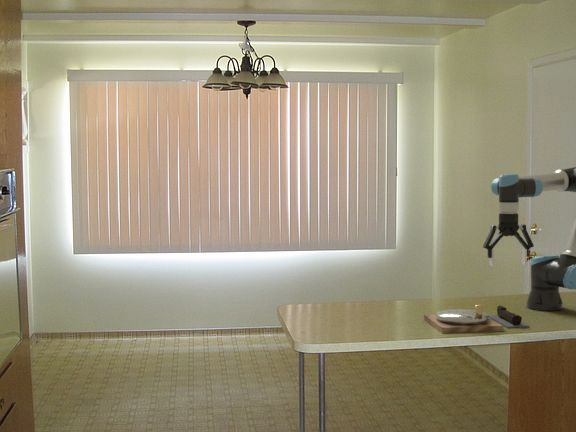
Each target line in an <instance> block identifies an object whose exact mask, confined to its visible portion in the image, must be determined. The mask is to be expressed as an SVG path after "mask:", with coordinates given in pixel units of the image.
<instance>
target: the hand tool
mask: <svg viewBox="0 0 576 432" xmlns="http://www.w3.org/2000/svg"><path fill="white" fill-rule="evenodd" d="M496 311H497V312H496V315H498V316H499V317H500V318H504V319H506V320H508V321H510V322H512V324H513V325H519V324H521V322H522V319H523V317H522V316H521V315H519V314H516V313H514V312H511V311H509V310H507V307H505V306H502V305H498V306H497V307H496Z"/></svg>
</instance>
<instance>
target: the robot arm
mask: <svg viewBox="0 0 576 432" xmlns="http://www.w3.org/2000/svg"><path fill="white" fill-rule="evenodd" d="M490 187H491V188H490V189H491V192H492V194H493V195H495V196H498V212H499V214H498V225H494V224H492V225H490V230H489V233H488V235H487V237H486V238H485V241H484V243H483V245H482V247H483V249H486V250H487V258H488V259H489V266H491V267H495V250H494V248H495V246H497V244H498V243H499V241H500V240H501V239H502V238H503V237H513V236H514V237H515V238H516V239H517V241H518V242H519V243H520V245H521V246H522V247H523V248H521V249H522V251H521V253H522V254H521V264H522V265H523V266H528V265H527V264H528V260H527V259H528V257H530V254H529V253H530V249H531V248H534V246H535V245H534V243H533V241H532V239H531V236H530V235H529V232H528V231H527V225H526V224H523V223H522V224H519V214H518V212H519V199H520V198H535V197H539V196H540V195H541V194H542V193H543V192H550V191H557V192H571V193H576V166H574V167H573V166H572V167H569V168H564V169H556V170H555V171H554V172H549V173H548V172H547V173H539V174H530V175H522V176H521V175H520V176H519V174H517V173H515V174H513V173H510V174H509V173H505V174H500V176H499V177H497V178H496V177H495V178H494V179H493V180H492V182H491V186H490ZM497 230H498V233H497V234H496V232H497ZM519 230H520V232H521V233H522V236H523V237H522V236H521V234H520V233H519V232H518V231H519ZM495 234H496V236H495V237H494V235H495ZM568 237H569V238H568V240H567V245H566V248H565V250H564V251H563V252H561V253H560V255H558V254H555V255H554V254H552V255H551V254H549V255H537V256H533V257H532V258H531V264H530V290H529V294H528V297H527V300H526V307H527V308H528V309H531V310H535V311H545V312H546V311H547V312H548V311H550V312H551V311H552V312H553V311H561V310H563V309H564V304H563V300H562V297H561V294H560V288H564V289H568V290H575V291H576V215H575V217H574V220H573V224H572V227H571V230H570V233H569V236H568ZM524 239H525V240H524Z"/></svg>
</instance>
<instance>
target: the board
mask: <svg viewBox="0 0 576 432" xmlns="http://www.w3.org/2000/svg"><path fill="white" fill-rule="evenodd" d="M423 320H424V321H425V322H426V323H428V324H429V325H431V326H432V327H434V329H436V330H437V331H439V332H440V333H441V334H447V333H448V334H449V333H450V334H451V333H477V332H478V331H485V332H504V326H503V325H501V324H499V323H498V322H496V321H494V320H492V319H491V318H489V317H488V322H486V323H482V324H472V325H462V324H451V323H445V322H441V321H439V320H437V313H436V314H423ZM478 333H479V332H478Z"/></svg>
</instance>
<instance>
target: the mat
mask: <svg viewBox="0 0 576 432" xmlns="http://www.w3.org/2000/svg"><path fill="white" fill-rule="evenodd" d="M488 317H489V318H490V319H492V320H494V321H496V322H497V323H499V324H501V325H503V327H505V328H507V329H514V328H515V329H517V328H520V329H521V328H522V329H523V328H530V325H529V324H527V323H525V322H523V321H521V324H519V325H513V324H512V322H510V321H508V320H506V319H504V318H500V317H499V316H498V314H488Z"/></svg>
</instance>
